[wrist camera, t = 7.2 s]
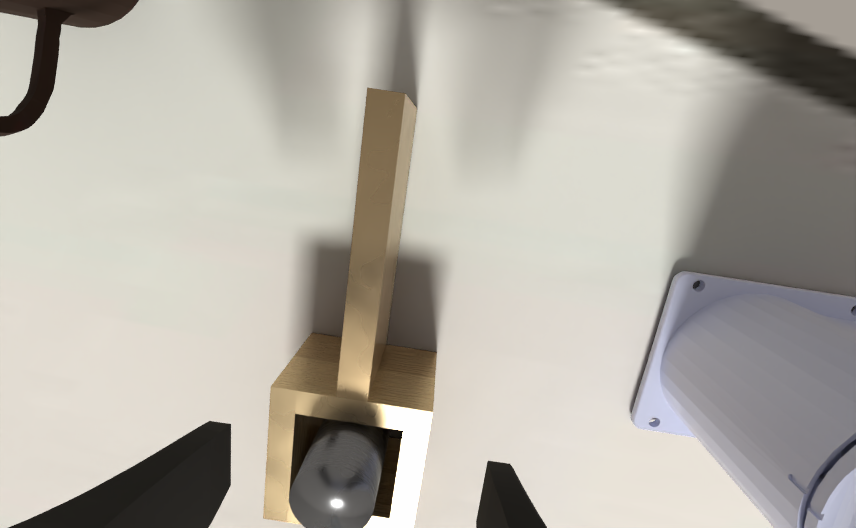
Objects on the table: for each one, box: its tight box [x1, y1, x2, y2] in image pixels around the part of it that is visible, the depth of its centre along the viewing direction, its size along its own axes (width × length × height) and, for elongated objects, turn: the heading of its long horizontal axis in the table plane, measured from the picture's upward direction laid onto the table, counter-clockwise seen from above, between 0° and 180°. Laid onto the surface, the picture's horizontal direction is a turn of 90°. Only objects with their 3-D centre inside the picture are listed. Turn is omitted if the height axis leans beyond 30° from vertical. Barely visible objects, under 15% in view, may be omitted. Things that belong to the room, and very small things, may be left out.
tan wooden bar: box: [263, 88, 437, 528], centre depth 19 cm, size 6×28×5 cm, turn 172°
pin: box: [289, 418, 391, 528], centre depth 18 cm, size 3×3×7 cm
